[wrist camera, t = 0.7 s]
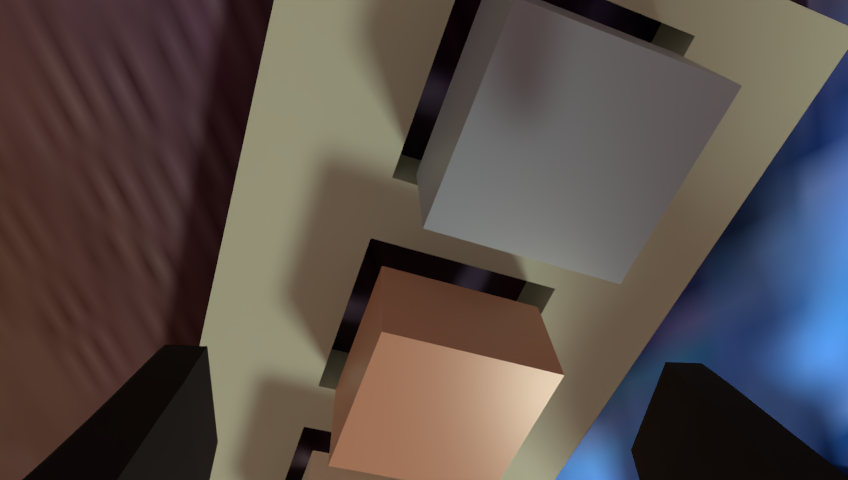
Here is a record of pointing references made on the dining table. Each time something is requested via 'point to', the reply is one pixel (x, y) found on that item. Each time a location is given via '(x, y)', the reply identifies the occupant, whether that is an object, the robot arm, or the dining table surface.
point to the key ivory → (334, 470)
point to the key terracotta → (440, 382)
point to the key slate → (564, 138)
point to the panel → (402, 225)
